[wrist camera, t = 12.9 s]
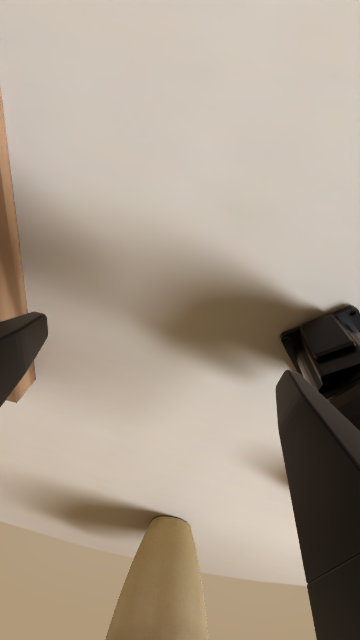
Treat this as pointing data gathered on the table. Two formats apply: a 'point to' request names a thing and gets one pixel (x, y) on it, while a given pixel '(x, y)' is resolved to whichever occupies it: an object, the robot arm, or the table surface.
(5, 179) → the slot rack
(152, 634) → the plant pot
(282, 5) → the table surface
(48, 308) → the table surface
